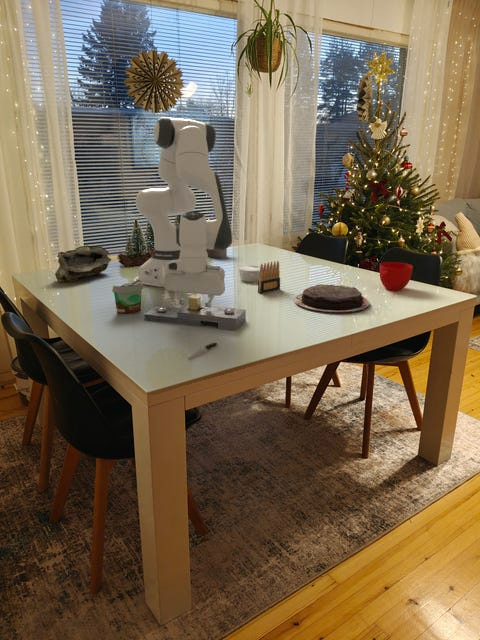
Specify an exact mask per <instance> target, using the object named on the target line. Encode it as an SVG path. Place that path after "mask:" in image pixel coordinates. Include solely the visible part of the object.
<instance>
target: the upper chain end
mask: <svg viewBox="0 0 480 640" xmlns="http://www.w3.org/2000/svg"><path fill="white" fill-rule="evenodd" d="M181 308H182V309H181V310H180V311H178V312H177V318H182V319H191V320H200V321H207V322H211V323H217V324H218V325H217V327H218V330H219V329H220V330H228V331H236V332H237V331H238V330H239V329H240V327H241V326H242V325H244V324H245V322H247V321H246V317H247V316H246V315H247V313H246V312H247V311H246V309H244V308H233V307H225V306H215V305H211V307H210V308H207V307H205V304H201V310H200V311H199V312H197V311H189V304H187V305H186V306H184V307H181Z"/></svg>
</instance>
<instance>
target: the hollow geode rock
mask: <svg viewBox="0 0 480 640" xmlns="http://www.w3.org/2000/svg"><path fill="white" fill-rule="evenodd" d="M109 254H110V253H109V251H107V250H106V249H105V248H104V247H103V246H98V245H97V246H96V245H94V246H92V245H84V246H83V245H80V246H79V247H76V248H75V249H71V250H66V251H64V252H63V251H60V252H58V253H57V256H56V257H57V259H58V260H57V263H58V264H59V266H58V269H56V272H55V273H54V276H55V278H56V280H57V281H58V282H60V283H61V282H62V283H66V282H71V283H74V282H75V281H77V280H78V279H79V278H81V277H83V278H84V277H89V276H92V275H98V274H99V275H100V274H101V273H103V272H105V271H106V270H107V269H108V267H109V263H110V262H111V261H112V258H110V257H109Z"/></svg>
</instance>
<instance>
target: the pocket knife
mask: <svg viewBox="0 0 480 640" xmlns="http://www.w3.org/2000/svg"><path fill="white" fill-rule="evenodd" d="M218 346H219V343H218V342H212V343H210V344H207V345H205V346H203V347H201V348H200V349H198V350H197V351H195V352H194V353H192V354H191V355H190V356H188V358H187V360H191V359H194V358H196V357H198V356H200V355H202V354H203V355H204V354H205V353H207V352H209V351H211V350H214V349H216V348H217V347H218Z"/></svg>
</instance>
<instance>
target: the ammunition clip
mask: <svg viewBox="0 0 480 640" xmlns="http://www.w3.org/2000/svg"><path fill="white" fill-rule="evenodd" d="M259 266H260V274H259V281H258V282H257V283H258V284H257V293H258V294H259V295H261V294H265V293H266V294H267V293H271V292H275V291H276V292H277V291H280V290H281V277H280V263H279V260H277V261H273V262H272V261H271V262H267V264H266V262H264V264H263V263H262V262H261V264H260V265H259Z"/></svg>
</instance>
